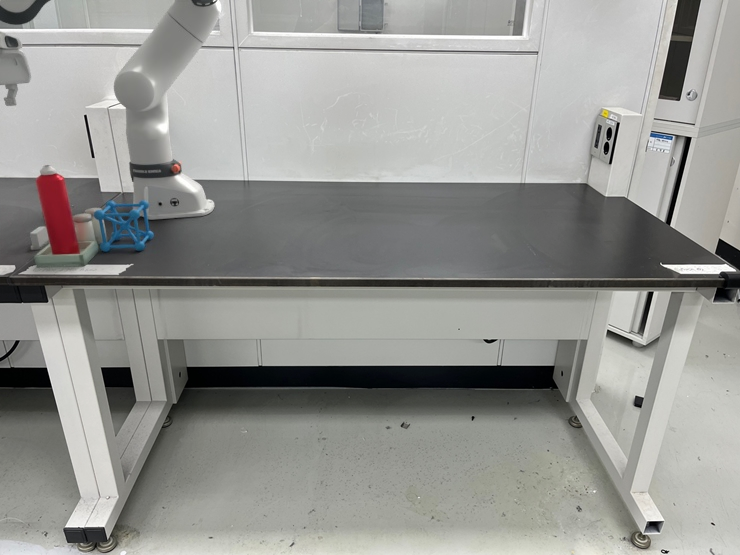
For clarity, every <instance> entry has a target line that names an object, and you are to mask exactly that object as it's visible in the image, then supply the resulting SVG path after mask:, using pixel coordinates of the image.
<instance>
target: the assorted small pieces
mask: <svg viewBox="0 0 740 555" xmlns="http://www.w3.org/2000/svg"><path fill="white" fill-rule="evenodd" d="M97 210H103V208H101V207H92V208H91V207H89V208H86V209H85V210H84V213H77V214H75V215H72V217H73V221H74V226H75V231H76V236H77V240H78V245H79V250H80V254H60V255H52V251H51V247H50V242H49V238H48V234H47V229H46V226H38V227H37V228H35V229H34V230H32V231H31V232H30V233H29V236H30V240H31V244H32V245H30V249H31V250H32V251H35V250H36V251H38V250H39V252H37V253H36V254H35V255H34V256H33V259H34V262H35V266H36V268H53V267H55V268H56V267H57V268H58V267H62V268H63V267H86V266H87V265H88V263H89V262H91V260H92V259H93V258H94V257H95V256H96V255H97V254H98V253H99V252H100V251H99V245H101V243H103V240H102V234H101V229H100V224H99V220H97V219H96V218H95V217H94V213H95V211H97ZM102 221H103V226H104V232H105V237H106V242H108V236H107V232H106V231H107V230H106V226H105V219H103V220H102Z"/></svg>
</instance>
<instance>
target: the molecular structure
mask: <svg viewBox="0 0 740 555" xmlns="http://www.w3.org/2000/svg"><path fill="white" fill-rule="evenodd" d="M133 207H139V208H138V209H137V210H135V209H134V210H133V209H131V210H130V211H128V212H121V213H120V212H118V211H117V209H116V208H133ZM148 207H149V203H148V202H147V201H145V200H142V201H140V202H139V204H133V203H116V202H115V201H114V200H108V201H107V202H106V203H105V207H104V209H102V210H97V211H95V213H94V217H95V218H96V219H97V220H99V224H100V229H101V234H102V240H103V243H101V244H99V248H100V250H101V251H103V252H105V253H106V252H110V250H111V249H127V248H128V249H130V248H133V249H135V250H136V251H137V252H143V251H144V250H145V248H146V244H145V243H146V241H150V240H152V239H153V238H154V232H153V231H151V230H150V225H149V224H150V223H149V219H148V218H147V211H146V209H148ZM141 210H143V213H144V217H143V218H144V219H143V220H144V223H145V224H144V225H145V231H143V230H141V229H139V228H140V227H139V225H138V219H139V218H140V217H141V216H140V213H139V212H140V211H141ZM107 211H110V213H107ZM115 217H116V218H117V219H118V220H117V219H116V218H115ZM122 217H128V218H127V220H124V219H123V218H122ZM103 219H104V220H107V221H110V222H111V223H112V229H113V231H112V232H111V234H110V236H111V238H110V239H109V240H107V242H106V237H105V232H104V226H103V221H102V220H103ZM132 221H133V224H134V226H131V223H132ZM117 225H119V229H118V230H117ZM124 231H126V232H127V233H122V232H124ZM132 231H133V232H135V233H133V232H132ZM121 238H131V239H132V240H133V242H134V244H112V243H113V242H114V241H117V242H118V241H119V240H121ZM141 238H143V239H141Z"/></svg>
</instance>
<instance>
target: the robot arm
mask: <svg viewBox="0 0 740 555" xmlns="http://www.w3.org/2000/svg"><path fill="white" fill-rule="evenodd" d="M50 1H51V0H0V22H2V23H5V24H9V25H14V26H21V25H25V24H28V23H30V22H31V21H32V20H34V19H35V18H36V17H37V15H38V14H39V13H40V11H41V10H42V8H43V7H44V6H45V5H46V4H48V3H50ZM221 13H222V6H221V2H220V1H219V0H174V2H173V3H172V4H171V6H170V7H169V8H168V9H167V11H166V12H165V14H163V16H162V17H161V19H160V20H159V21H158V23H157V25H156V26H155V27H154V29H153V30H152V31H151V32H150V34H149V35H148V37H147V38H146V39H145V40H144V41H143V42H142V44H140V46H139V47H138V49H137V50H135V52H134V54H133V55H132V56H131V57H130V58H129V59H128V60H127V62H126V63H125V64H124V65H123V67H122V68H121V69H120V70H119V71H118V73H117V75H116V76H115V79H114V83H113V93H114V95H115V97H116V98H115V99H116V100H117V101H118V102H119V104H121V105H122V106H123V107H124V108H125V122H126V125H125V126H126V128H125V136H126V142H127V149H128V153H129V159H130V161H129V163H128V164H129V174H130V175H129V176H130V179H131V182H132V184H133V185H132V186H133V201H132V202H133V203H132V204H139V202H140V201H142V200H145V201H147V202H148V203H149V207H148V209H146V211H147V218H148V221H149V220H163V219H175V218H177V219H179V218H180V219H181V218H193V217H202V216H207V215H208V214H210V213H212V212H213V211H214V209H215V202H214V201H213V200H212V199H209V198H208V199H207V197H206V193H205V191H204V188H203V186H202V185H201V184H200V183H199V182H197V181H196V180H194V179H192V178H191V177H189V176H188V175H186V174H184V173H183V172H182V161H181V160H180V161H178V160H176V159H174V157H173V152H172V150H173V149H172V142H171V136H170V135H171V134H170V123H169V122H170V119H169V117H170V116H169V104H168V103H169V102H168V101H169V99H168V91H169V89H170V87H171V86H172V85H173V84H174V83H175V82H176V80H177V79H178V77H180V75H181V74H182V72H184V70H185V69H186V68H187V66H188V65H189V63H190V62H191V61H192V59H194V57H195V56H196V54H197V53H198V52H199V50H200V49H201V48H202V46H203V45H204V43H206V41H207V40H208V38H209V37H210V35H211V33H212V32H213V31H214V28H215V27H216V24H217V23H218V20H219V19H220V16H221V15H222V14H221ZM22 48H23V41H22V39H20V37H16V36H14V35H11V34H7V33H5V32H2V31H0V86H4V87H5V89H6V90H7V94H6V96H5V97H3V101H4V103H5V104H4V105H5V106H7V107H13V106H15V107H16V106H17V100H16V97H17V95H18V94H17V93H18V91H19V87H18V85H21V84H29V83H30V82H31V79H32V74H31V69H30V66H29V62H28V58H27V56H26V54H25V53H24V51H23V50H22ZM138 208H139V207H132V210H134V209H135V210H137V209H138ZM139 213H140V217H143V218H144V213H143V210H141V211H140V212H139Z"/></svg>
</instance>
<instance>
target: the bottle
mask: <svg viewBox="0 0 740 555" xmlns="http://www.w3.org/2000/svg"><path fill="white" fill-rule="evenodd" d="M39 172H40V173H39V175H38V176H37V177H36V178H35V186H36V189H37V190H36V192H37V194H38V198H39V203H40V208H41V212H42V216H43V221H44V226H45V227H46V230H47V234H48V238H49V244H50V247H51V251H52V255H60V254H80V250H79V245H78V240H77V236H76V231H75V229H76V228H75V223H74V221H73V214H72V208H71V203H70V197H69V194H68V189H67V184H66V179H65V177H64V176H63V175H62V174H59V173H57V169H56V168H55V167H52V165H48V164H47V165H46V164H44V165H43V166H42V168H40V170H39Z"/></svg>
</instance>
